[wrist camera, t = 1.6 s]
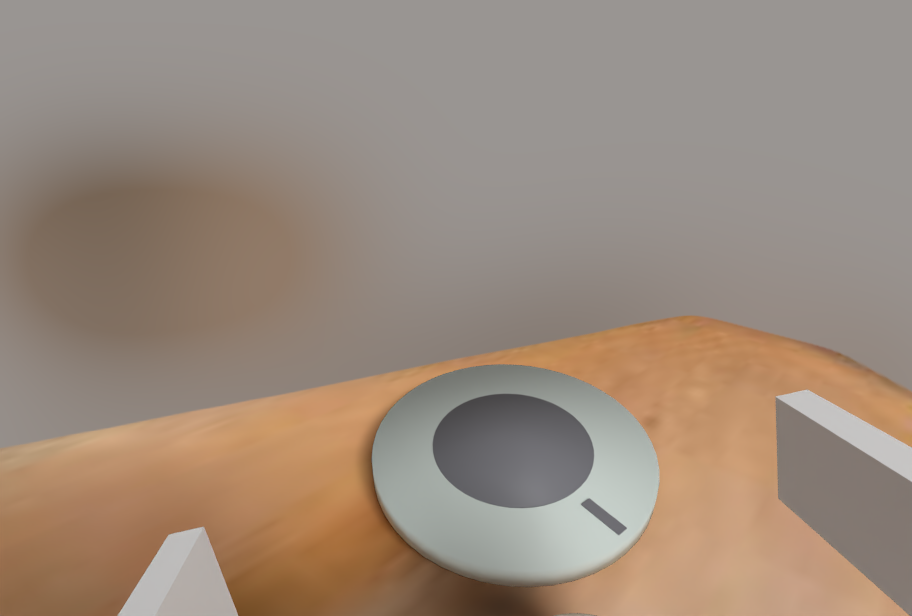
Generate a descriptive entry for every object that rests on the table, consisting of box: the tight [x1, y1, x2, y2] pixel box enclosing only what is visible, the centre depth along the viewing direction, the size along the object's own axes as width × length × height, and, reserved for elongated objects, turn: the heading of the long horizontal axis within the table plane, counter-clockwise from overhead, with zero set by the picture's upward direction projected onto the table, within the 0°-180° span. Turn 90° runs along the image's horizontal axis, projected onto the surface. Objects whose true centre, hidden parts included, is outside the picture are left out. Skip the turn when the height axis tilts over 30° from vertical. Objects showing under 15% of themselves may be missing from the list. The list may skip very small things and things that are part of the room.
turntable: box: [372, 365, 659, 587], centre depth 40 cm, size 21×21×2 cm
